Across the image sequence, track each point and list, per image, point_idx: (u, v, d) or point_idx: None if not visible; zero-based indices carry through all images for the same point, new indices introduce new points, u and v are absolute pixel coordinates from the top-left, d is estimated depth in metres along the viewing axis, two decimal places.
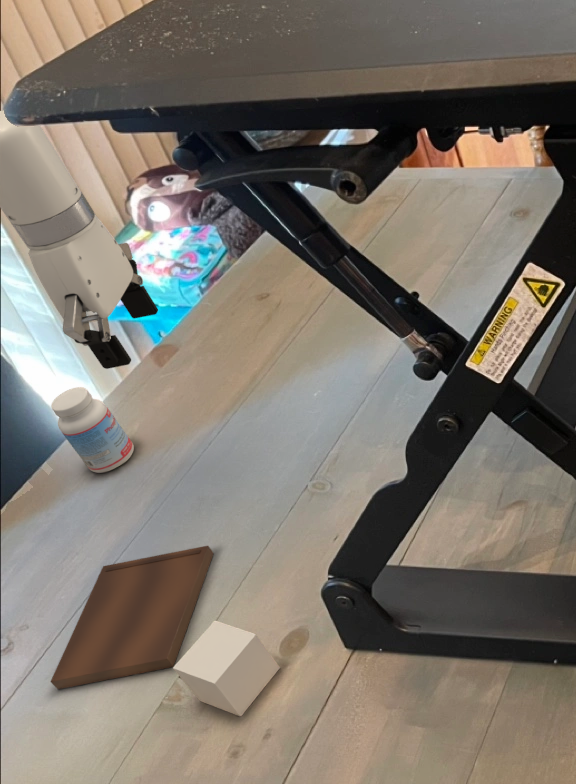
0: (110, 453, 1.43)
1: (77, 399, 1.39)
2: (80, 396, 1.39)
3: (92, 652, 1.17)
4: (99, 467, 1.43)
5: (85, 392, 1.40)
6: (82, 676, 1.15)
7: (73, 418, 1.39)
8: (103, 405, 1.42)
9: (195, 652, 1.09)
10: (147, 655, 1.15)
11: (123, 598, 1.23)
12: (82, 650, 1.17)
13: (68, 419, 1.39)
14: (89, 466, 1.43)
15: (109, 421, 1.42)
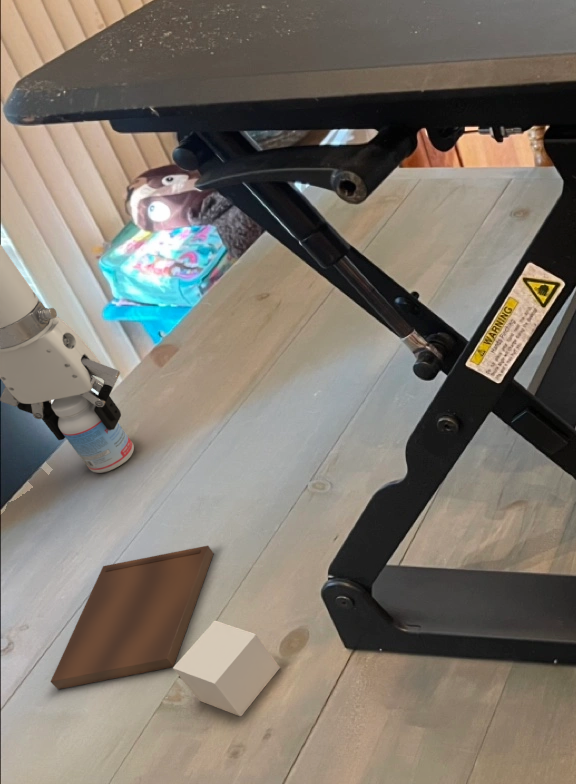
0: (111, 453, 1.43)
1: (78, 399, 1.39)
2: (81, 396, 1.39)
3: (92, 652, 1.17)
4: (99, 467, 1.43)
5: None
6: (82, 676, 1.15)
7: (73, 417, 1.39)
8: None
9: (195, 652, 1.09)
10: (147, 655, 1.15)
11: (123, 598, 1.23)
12: (82, 650, 1.17)
13: (68, 419, 1.39)
14: (89, 466, 1.43)
15: None
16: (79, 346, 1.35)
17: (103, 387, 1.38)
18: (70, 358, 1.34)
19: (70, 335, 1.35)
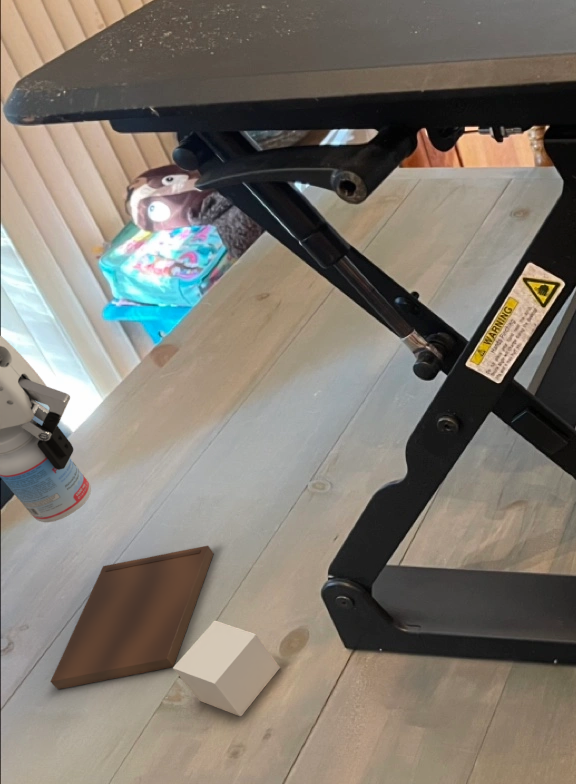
0: (60, 498, 1.12)
1: (16, 431, 1.08)
2: None
3: (92, 652, 1.17)
4: (45, 516, 1.13)
5: None
6: (82, 676, 1.15)
7: (11, 454, 1.08)
8: None
9: (195, 652, 1.09)
10: (147, 655, 1.15)
11: (123, 598, 1.23)
12: (82, 650, 1.17)
13: (4, 456, 1.09)
14: (33, 514, 1.13)
15: None
16: (16, 363, 1.05)
17: (48, 416, 1.08)
18: (3, 379, 1.03)
19: (4, 349, 1.04)
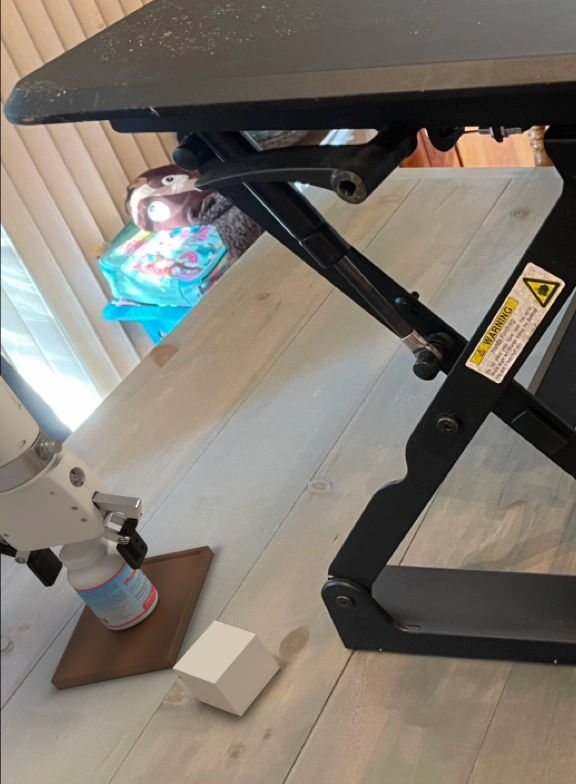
0: (131, 608, 1.18)
1: (91, 548, 1.14)
2: (94, 543, 1.14)
3: (92, 652, 1.17)
4: (116, 625, 1.18)
5: (100, 537, 1.15)
6: (82, 676, 1.15)
7: (85, 570, 1.14)
8: None
9: (195, 652, 1.09)
10: (147, 655, 1.15)
11: None
12: (82, 650, 1.17)
13: (79, 571, 1.14)
14: (104, 623, 1.18)
15: (128, 570, 1.17)
16: (89, 482, 1.10)
17: (128, 521, 1.12)
18: (79, 499, 1.08)
19: (78, 469, 1.09)
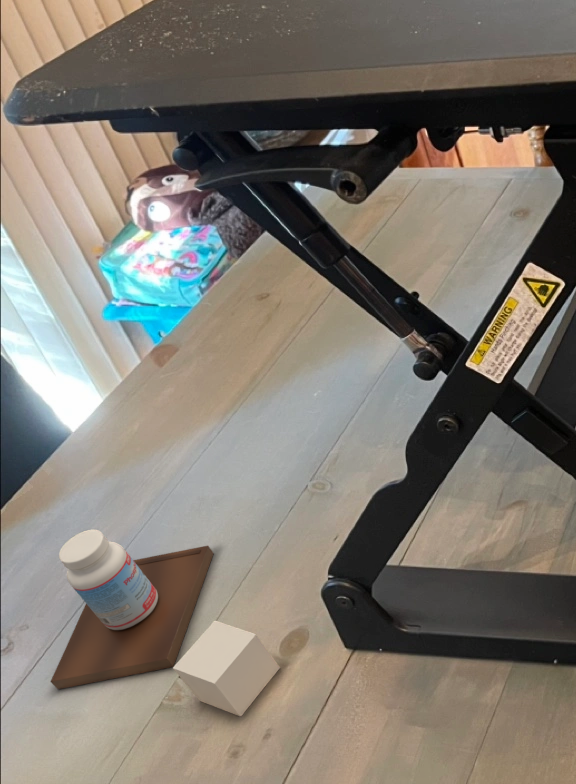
0: (131, 608, 1.18)
1: (91, 547, 1.14)
2: (95, 543, 1.14)
3: (92, 652, 1.17)
4: (116, 625, 1.18)
5: (100, 537, 1.15)
6: (82, 676, 1.15)
7: (85, 570, 1.14)
8: (122, 550, 1.17)
9: (195, 652, 1.09)
10: (147, 655, 1.15)
11: None
12: (82, 650, 1.17)
13: (79, 571, 1.14)
14: (104, 623, 1.18)
15: (128, 570, 1.17)
16: None
17: None
18: None
19: None
